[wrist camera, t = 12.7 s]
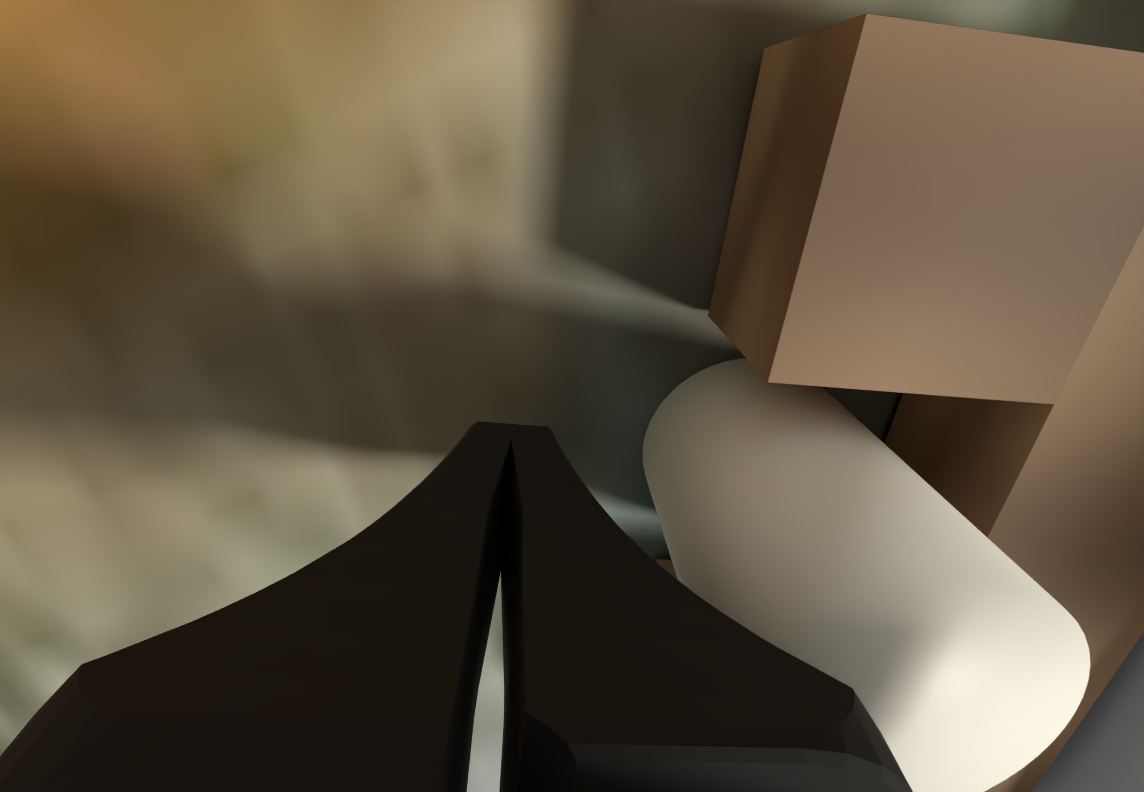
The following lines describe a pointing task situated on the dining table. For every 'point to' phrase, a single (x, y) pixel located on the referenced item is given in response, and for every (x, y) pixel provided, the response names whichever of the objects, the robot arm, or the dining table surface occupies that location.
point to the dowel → (862, 575)
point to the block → (965, 285)
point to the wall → (1106, 738)
